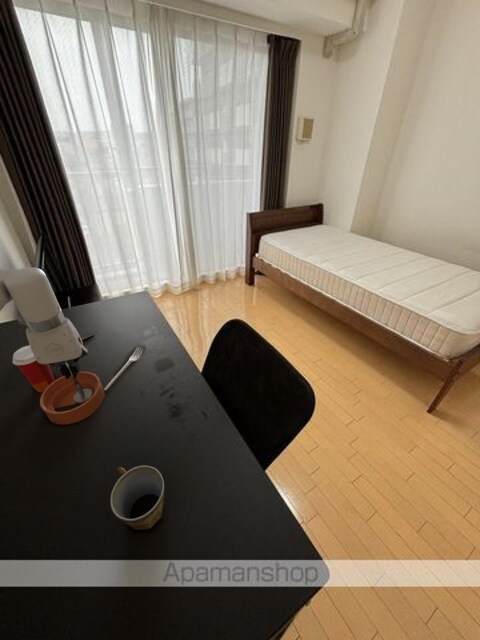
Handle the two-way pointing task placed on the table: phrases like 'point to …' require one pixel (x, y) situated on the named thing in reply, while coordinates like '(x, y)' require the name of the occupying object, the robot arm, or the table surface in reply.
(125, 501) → the ceramic cup
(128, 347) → the table surface
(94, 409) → the bowl
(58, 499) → the table surface
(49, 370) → the paper cup
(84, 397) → the grey disc on stem
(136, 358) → the fork
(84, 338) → the fountain pen
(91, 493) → the table surface
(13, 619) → the table surface
